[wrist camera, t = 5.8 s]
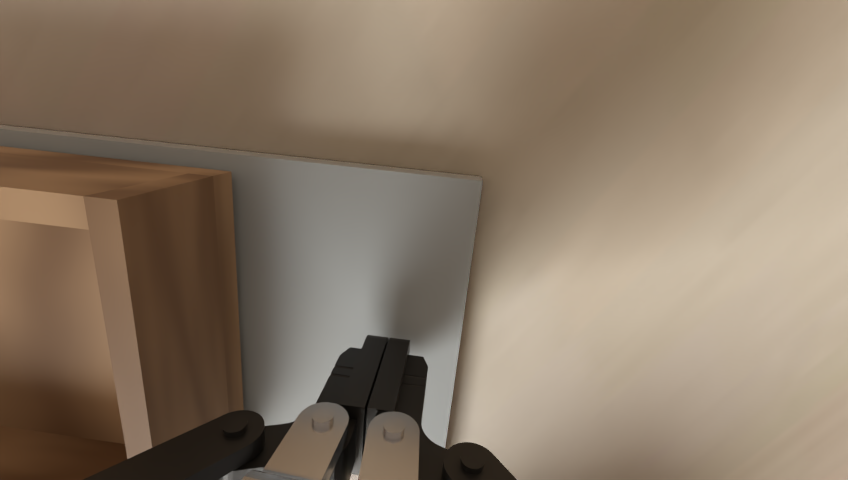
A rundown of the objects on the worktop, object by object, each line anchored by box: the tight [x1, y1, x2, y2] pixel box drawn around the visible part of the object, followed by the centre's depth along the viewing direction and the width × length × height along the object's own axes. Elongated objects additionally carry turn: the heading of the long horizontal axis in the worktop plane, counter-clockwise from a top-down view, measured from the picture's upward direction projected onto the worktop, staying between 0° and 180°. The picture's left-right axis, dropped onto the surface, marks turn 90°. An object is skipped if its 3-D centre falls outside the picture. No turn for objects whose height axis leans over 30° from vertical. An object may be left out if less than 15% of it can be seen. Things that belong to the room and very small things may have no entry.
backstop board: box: [0, 125, 483, 448], centre depth 14 cm, size 21×12×5 cm, turn 84°
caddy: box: [0, 146, 244, 480], centre depth 13 cm, size 12×12×4 cm
